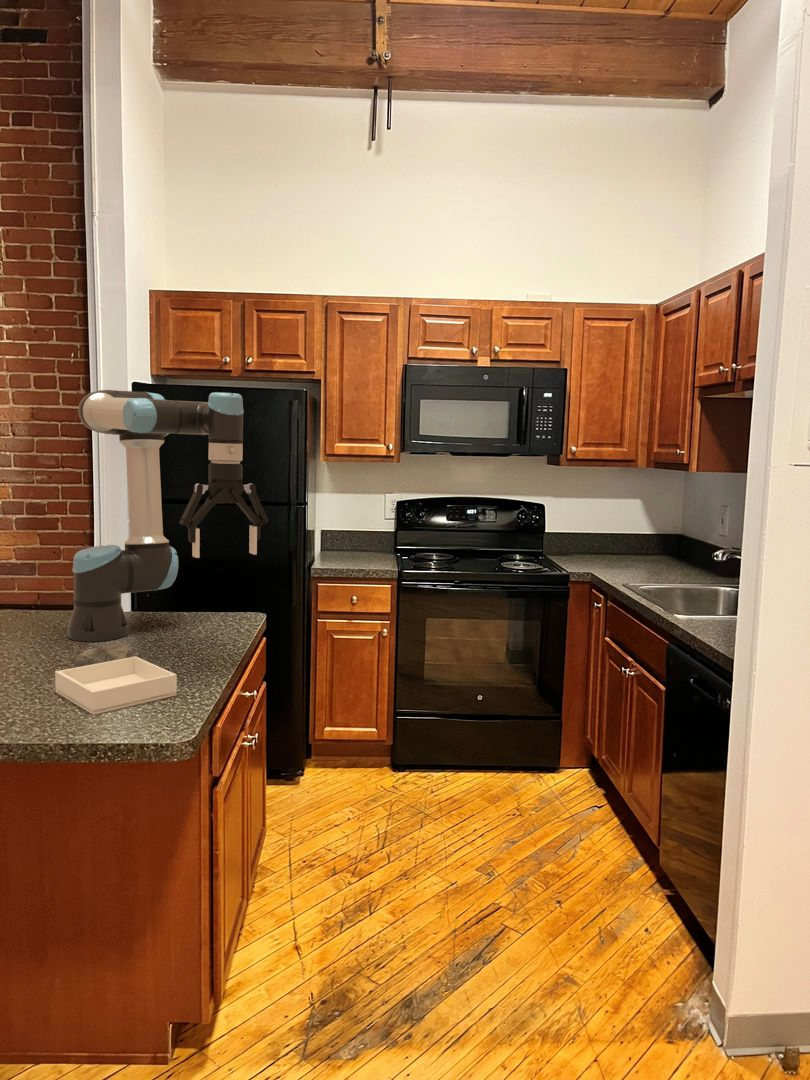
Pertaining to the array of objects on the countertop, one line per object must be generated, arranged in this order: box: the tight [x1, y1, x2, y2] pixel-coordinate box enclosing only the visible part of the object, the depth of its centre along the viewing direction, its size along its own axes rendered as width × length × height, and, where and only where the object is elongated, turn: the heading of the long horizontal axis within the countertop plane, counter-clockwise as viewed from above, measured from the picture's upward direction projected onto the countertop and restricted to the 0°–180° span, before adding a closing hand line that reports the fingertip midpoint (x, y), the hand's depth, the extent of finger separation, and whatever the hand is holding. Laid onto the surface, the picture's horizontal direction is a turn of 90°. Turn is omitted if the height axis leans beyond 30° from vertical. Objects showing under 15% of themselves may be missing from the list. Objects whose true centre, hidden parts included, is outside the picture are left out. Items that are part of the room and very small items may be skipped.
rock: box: [71, 641, 134, 668], centre depth 176 cm, size 13×9×6 cm, turn 97°
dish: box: [54, 655, 178, 715], centre depth 160 cm, size 18×18×4 cm
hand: (225, 555), depth 178 cm, fingers open, 13 cm apart
